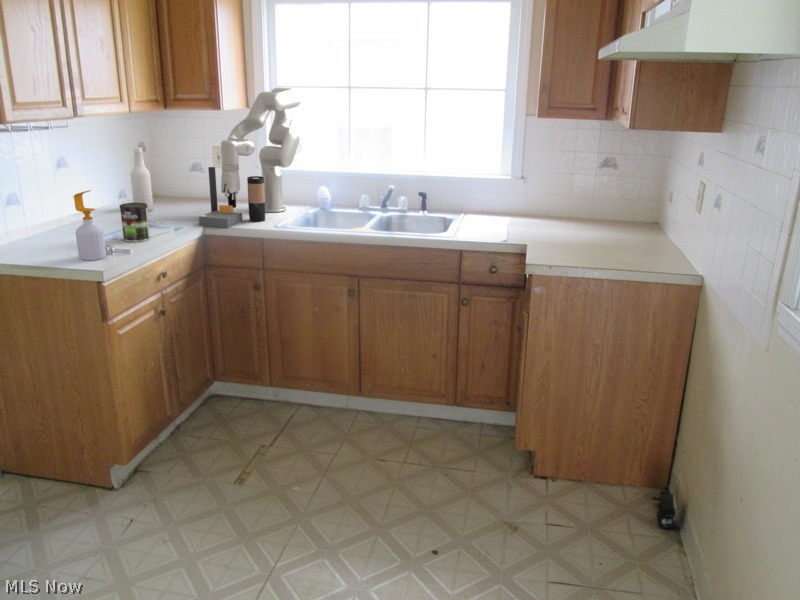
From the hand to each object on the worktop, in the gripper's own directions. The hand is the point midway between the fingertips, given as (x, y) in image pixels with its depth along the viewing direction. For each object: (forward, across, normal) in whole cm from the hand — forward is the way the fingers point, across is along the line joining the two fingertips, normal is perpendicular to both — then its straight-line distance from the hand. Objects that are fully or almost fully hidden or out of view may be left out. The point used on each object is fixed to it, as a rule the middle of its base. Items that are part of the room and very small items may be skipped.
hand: (232, 207), depth 301 cm
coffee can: (+6, +49, -17) cm, 52 cm away
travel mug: (+6, -1, +12) cm, 13 cm away
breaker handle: (+1, +6, 0) cm, 6 cm away
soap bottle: (+7, +78, -14) cm, 80 cm away
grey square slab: (+6, +11, 0) cm, 12 cm away
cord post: (+5, -1, -10) cm, 11 cm away
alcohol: (+6, -2, -49) cm, 49 cm away
